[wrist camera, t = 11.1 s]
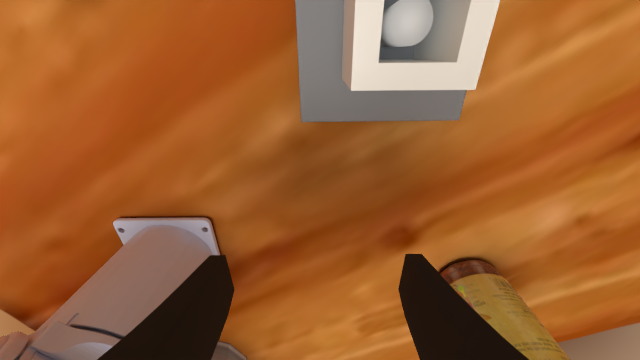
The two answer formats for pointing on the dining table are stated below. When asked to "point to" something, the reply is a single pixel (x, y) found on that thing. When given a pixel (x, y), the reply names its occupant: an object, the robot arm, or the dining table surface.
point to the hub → (418, 47)
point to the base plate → (396, 43)
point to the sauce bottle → (502, 309)
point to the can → (227, 352)
